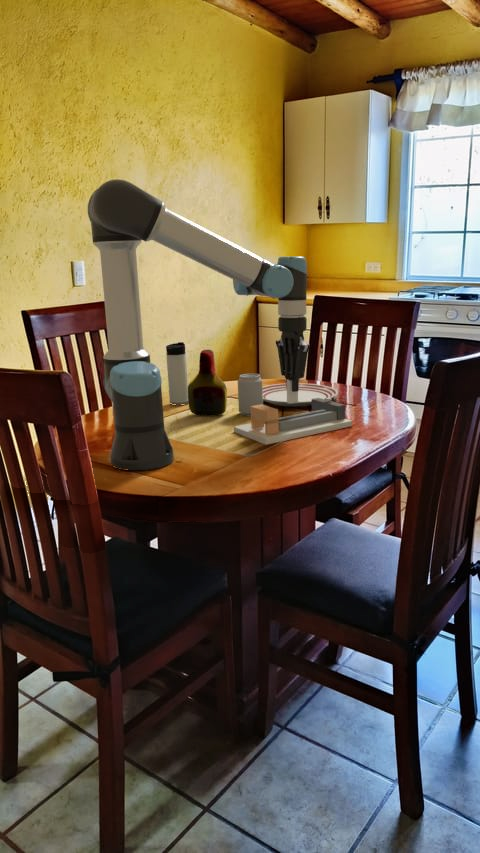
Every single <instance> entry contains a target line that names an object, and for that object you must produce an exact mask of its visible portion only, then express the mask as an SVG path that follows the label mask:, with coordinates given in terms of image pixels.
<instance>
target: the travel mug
mask: <svg viewBox="0 0 480 853" xmlns="http://www.w3.org/2000/svg"><path fill="white" fill-rule="evenodd" d="M165 350H166V355H165V356H166V367H167V369H166V370H167V384H168V396H169V398H168V399H169V404H170V403H172V404H176V405H181V404H187V403H188V404H189V402H188V385H189V382H188V371H187V368H188V367H187V356H186V354H187V353H186V344H185V342H181V341H179V342H177V343H176V342H175V343H171V344H170V343H169V344H168V345H166V346H165ZM188 404H187V405H188Z"/></svg>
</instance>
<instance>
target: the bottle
mask: <svg viewBox="0 0 480 853" xmlns="http://www.w3.org/2000/svg"><path fill="white" fill-rule="evenodd" d="M198 367H199V369H198V373H197V374H196V375H195V376H194V378H193V379H192V380H191V381H190V382H188V402H189V403H188V408H189V410H190V412H191V413H192V414H194V415H195V416H197V417H202V416H213V417H218V416H221V415H223V414H225V413H226V410H227V406H228V388H227V386H226V385H227V384H226V383H225V382H224V381H223V380H222V379H221V378H220V377H219V376H218V375H217V372H216V365H215V355H214V351H213V350H212V349H203V350H202V351H201V352H200V353H199V366H198Z"/></svg>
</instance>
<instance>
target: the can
mask: <svg viewBox="0 0 480 853" xmlns="http://www.w3.org/2000/svg"><path fill="white" fill-rule="evenodd" d="M260 376H261V375H260V374H259V373H244V374H242V373H241V374H240V375H239V378H238V379H237V396H238V397H237V398H238V399H237V400H238V401H237V403H238V412H239V413H240V414H241V415H242V416H247V417H251V406H255V405H261V404H262V405H264V401H263V387H264V386H263V379H262V378H261V377H260Z"/></svg>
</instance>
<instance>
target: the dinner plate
mask: <svg viewBox="0 0 480 853" xmlns="http://www.w3.org/2000/svg"><path fill="white" fill-rule="evenodd" d="M262 387H263V402H267V403H268V404H272V405H275V406H279V407H289V408H291V407H293V408H294V407H306V406H307V407H308V406H312V399H315V398H321V399H324V398H331V399H333V398H335V397H337V396H338V393H339V391H338V390H337V389H336V388H334V387H331V386H327V385H322V384H317V383H304V382H303V383H301V382H299V387H298V388H299V390H298V403H292V404H289V403H287V389H286V383H285V382H284V383H276V384H274V383H273V384H267V385H266V386H262Z"/></svg>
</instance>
